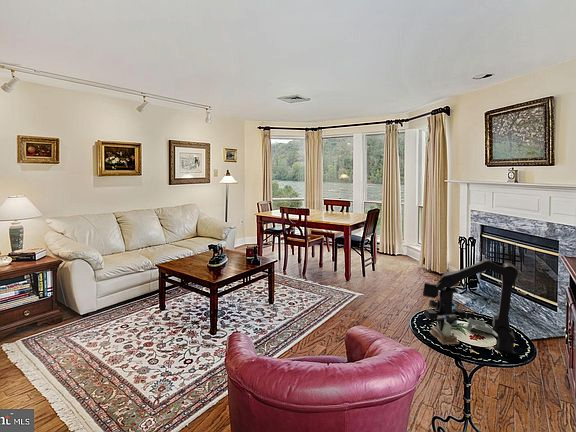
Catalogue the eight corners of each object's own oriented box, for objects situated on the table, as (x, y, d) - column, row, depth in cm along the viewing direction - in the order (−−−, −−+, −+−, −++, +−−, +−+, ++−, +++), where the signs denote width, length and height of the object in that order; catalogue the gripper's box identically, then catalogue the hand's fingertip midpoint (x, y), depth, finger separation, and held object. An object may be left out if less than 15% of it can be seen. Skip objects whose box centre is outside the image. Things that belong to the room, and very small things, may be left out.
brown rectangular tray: (459, 343, 161) (459, 335, 160) (442, 344, 160) (443, 335, 160) (445, 331, 173) (445, 323, 172) (429, 332, 172) (430, 324, 171)
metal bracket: (477, 326, 167) (463, 313, 182) (472, 337, 168) (459, 323, 183) (505, 335, 167) (489, 321, 182) (500, 345, 168) (485, 331, 183)
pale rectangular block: (450, 337, 162) (451, 325, 162) (445, 337, 162) (446, 325, 161) (441, 329, 170) (442, 317, 170) (436, 329, 170) (437, 318, 169)
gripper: (454, 293, 173) (452, 322, 175) (419, 294, 171) (417, 324, 173) (468, 301, 162) (465, 333, 164) (430, 302, 160) (428, 334, 162)
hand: (443, 330), depth 166 cm, fingers closed on pale rectangular block, 2 cm apart
